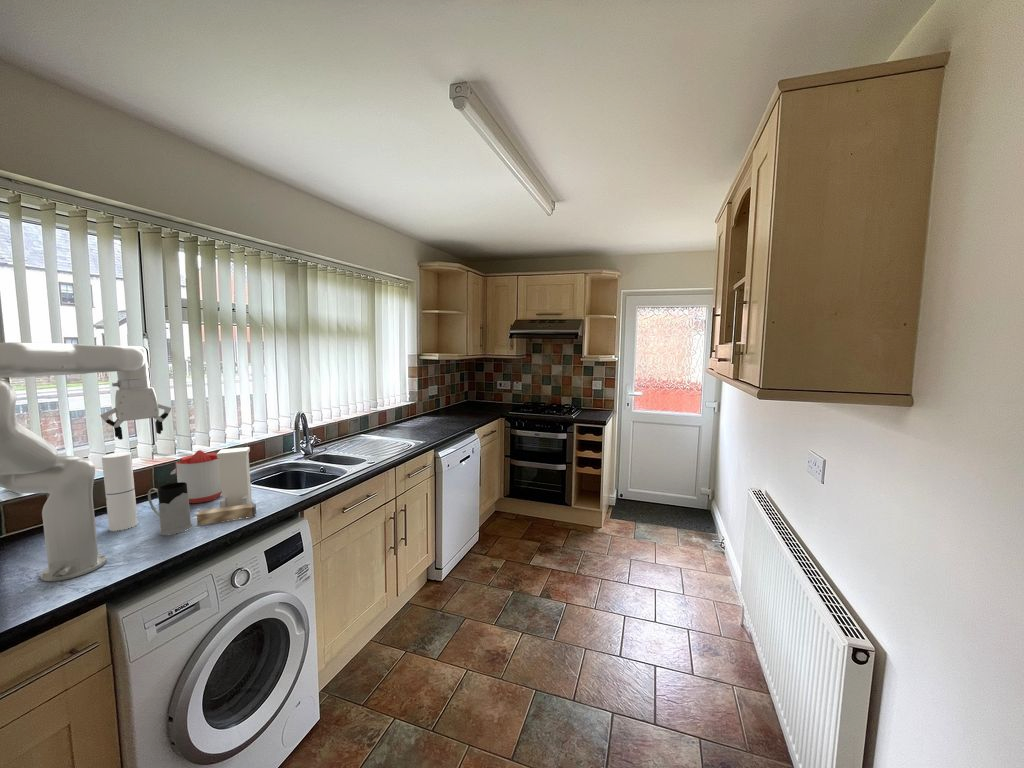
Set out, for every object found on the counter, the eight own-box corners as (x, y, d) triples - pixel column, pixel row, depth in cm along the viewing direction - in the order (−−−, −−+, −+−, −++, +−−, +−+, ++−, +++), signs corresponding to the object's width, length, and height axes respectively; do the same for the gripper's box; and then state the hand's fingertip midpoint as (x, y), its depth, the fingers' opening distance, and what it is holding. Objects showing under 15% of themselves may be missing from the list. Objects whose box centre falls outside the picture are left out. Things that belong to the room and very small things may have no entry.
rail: (197, 526, 142) (196, 514, 141) (200, 521, 145) (199, 510, 145) (254, 517, 149) (254, 506, 148) (256, 513, 152) (255, 503, 152)
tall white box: (248, 509, 155) (244, 453, 153) (218, 513, 152) (214, 456, 150) (253, 500, 165) (249, 446, 163) (225, 503, 161) (221, 449, 159)
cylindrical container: (120, 532, 137) (112, 458, 135) (103, 530, 139) (95, 457, 136) (143, 523, 144) (136, 452, 142) (127, 521, 146) (120, 451, 143)
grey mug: (174, 536, 134) (170, 491, 133) (138, 533, 136) (133, 488, 135) (199, 524, 143) (195, 482, 141) (164, 522, 145) (160, 480, 144)
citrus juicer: (179, 496, 170) (175, 448, 168) (230, 489, 177) (226, 444, 175) (167, 509, 156) (162, 457, 154) (222, 502, 163) (218, 452, 161)
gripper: (99, 387, 126) (105, 443, 128) (171, 382, 139) (176, 432, 141) (95, 386, 130) (101, 439, 132) (165, 381, 144) (170, 429, 146)
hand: (140, 436), depth 137 cm, fingers open, 9 cm apart
